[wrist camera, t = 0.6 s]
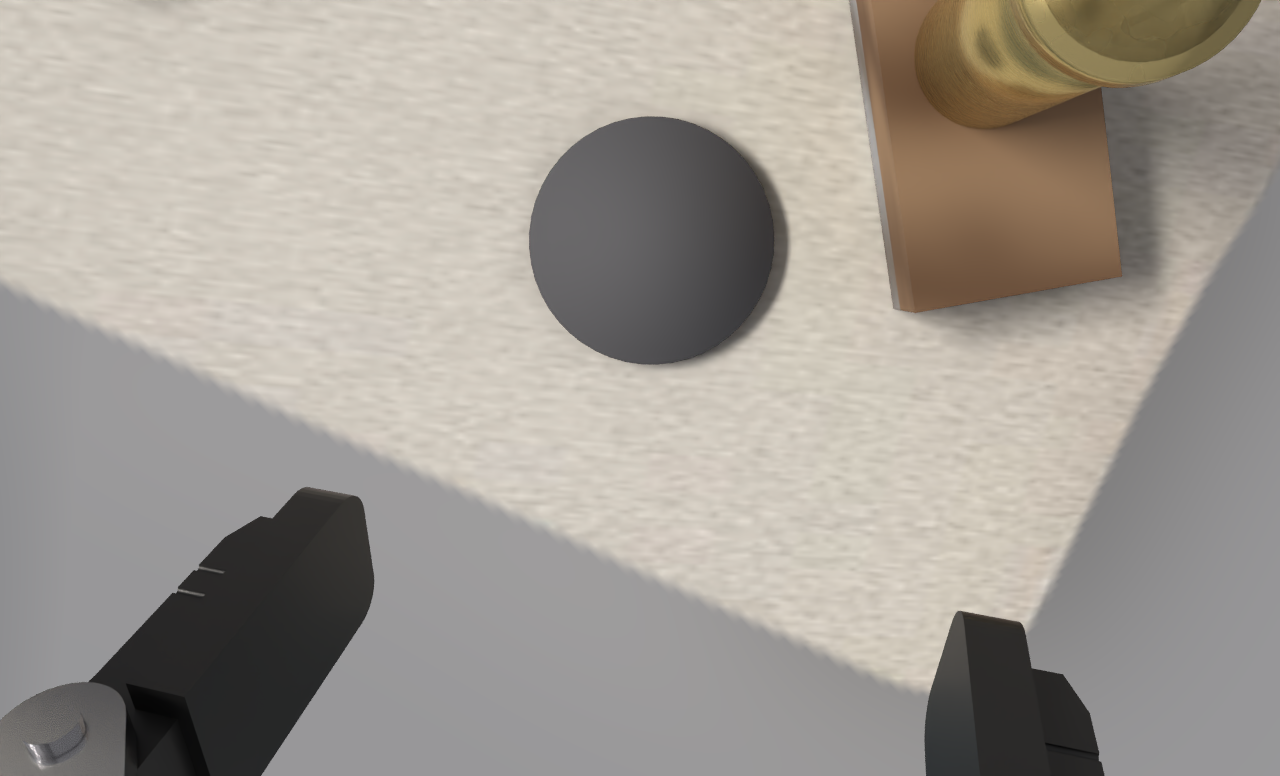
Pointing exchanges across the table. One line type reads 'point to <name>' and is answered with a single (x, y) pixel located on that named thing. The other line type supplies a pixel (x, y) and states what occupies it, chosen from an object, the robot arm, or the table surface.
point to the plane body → (979, 182)
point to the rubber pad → (651, 240)
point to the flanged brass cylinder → (1060, 50)
